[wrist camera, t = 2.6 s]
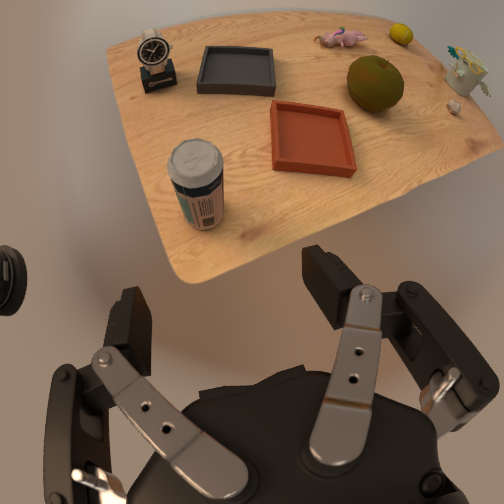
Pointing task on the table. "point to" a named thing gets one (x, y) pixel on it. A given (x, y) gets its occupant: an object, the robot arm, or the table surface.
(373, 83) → the apple
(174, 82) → the watch
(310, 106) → the terracotta tray
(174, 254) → the table surface
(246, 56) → the grey tray
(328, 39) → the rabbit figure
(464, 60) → the character sculpture
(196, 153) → the beer can
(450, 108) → the game die
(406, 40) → the tennis ball
